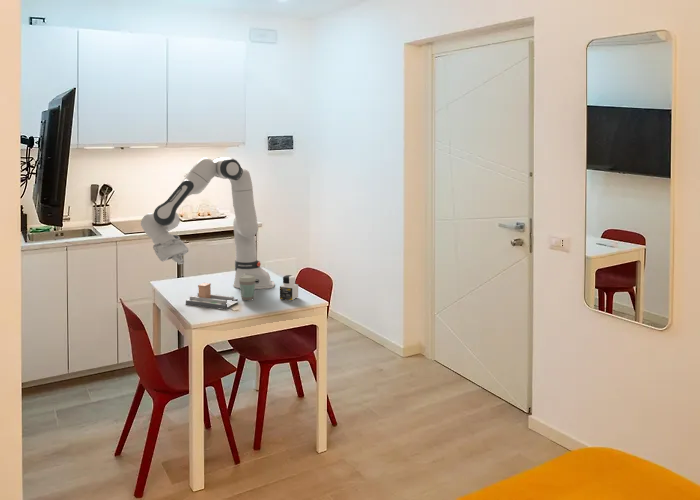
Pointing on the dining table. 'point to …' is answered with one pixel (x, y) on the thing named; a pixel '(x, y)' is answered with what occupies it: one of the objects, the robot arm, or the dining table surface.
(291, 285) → the medicine bottle
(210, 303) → the switch board
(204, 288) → the switch tab
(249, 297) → the coffee cup
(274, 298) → the dining table surface
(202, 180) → the robot arm
